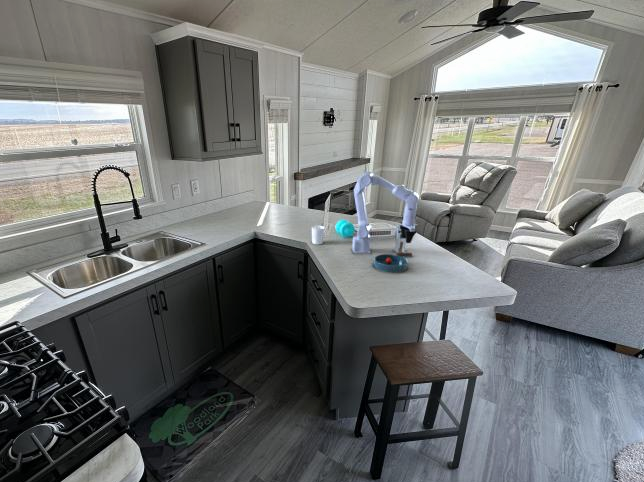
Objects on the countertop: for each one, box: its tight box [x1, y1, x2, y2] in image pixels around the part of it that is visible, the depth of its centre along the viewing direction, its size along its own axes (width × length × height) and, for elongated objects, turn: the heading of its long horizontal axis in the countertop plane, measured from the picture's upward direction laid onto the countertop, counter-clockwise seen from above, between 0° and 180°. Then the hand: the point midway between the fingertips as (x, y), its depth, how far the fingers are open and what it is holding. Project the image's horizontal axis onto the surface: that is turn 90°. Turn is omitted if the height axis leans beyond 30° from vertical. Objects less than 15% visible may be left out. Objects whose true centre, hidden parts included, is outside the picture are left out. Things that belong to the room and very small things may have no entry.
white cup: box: [311, 225, 326, 245], centre depth 203 cm, size 8×8×10 cm
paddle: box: [395, 251, 413, 257], centre depth 180 cm, size 8×2×2 cm, turn 86°
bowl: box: [373, 253, 409, 273], centre depth 168 cm, size 16×16×4 cm
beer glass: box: [393, 223, 407, 253], centre depth 185 cm, size 7×7×15 cm
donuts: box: [335, 219, 356, 238], centre depth 214 cm, size 10×10×10 cm
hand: (406, 240), depth 177 cm, fingers open, 7 cm apart
